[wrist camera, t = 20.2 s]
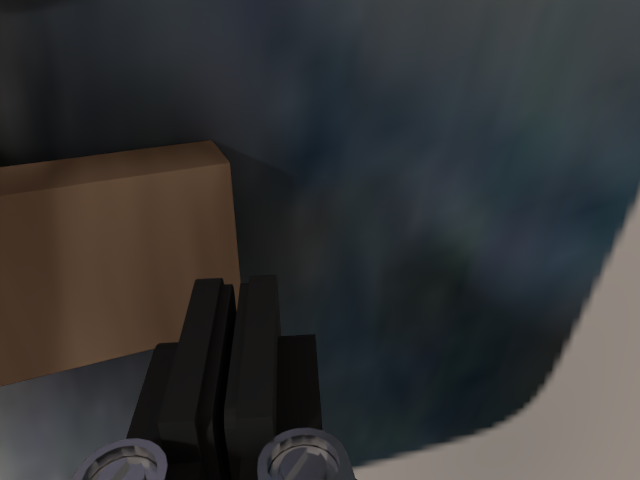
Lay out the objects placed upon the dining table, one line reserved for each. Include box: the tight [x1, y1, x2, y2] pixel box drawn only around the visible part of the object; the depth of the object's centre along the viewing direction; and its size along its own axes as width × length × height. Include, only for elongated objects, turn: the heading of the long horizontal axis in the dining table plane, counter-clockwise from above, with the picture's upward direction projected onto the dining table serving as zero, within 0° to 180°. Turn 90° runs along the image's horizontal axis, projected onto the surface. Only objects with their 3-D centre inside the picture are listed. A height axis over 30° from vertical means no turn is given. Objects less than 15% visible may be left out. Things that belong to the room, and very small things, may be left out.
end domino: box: [0, 140, 241, 386], centre depth 15 cm, size 2×5×9 cm
